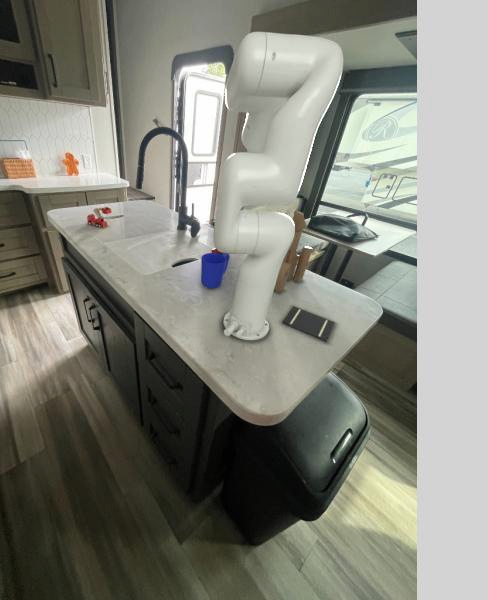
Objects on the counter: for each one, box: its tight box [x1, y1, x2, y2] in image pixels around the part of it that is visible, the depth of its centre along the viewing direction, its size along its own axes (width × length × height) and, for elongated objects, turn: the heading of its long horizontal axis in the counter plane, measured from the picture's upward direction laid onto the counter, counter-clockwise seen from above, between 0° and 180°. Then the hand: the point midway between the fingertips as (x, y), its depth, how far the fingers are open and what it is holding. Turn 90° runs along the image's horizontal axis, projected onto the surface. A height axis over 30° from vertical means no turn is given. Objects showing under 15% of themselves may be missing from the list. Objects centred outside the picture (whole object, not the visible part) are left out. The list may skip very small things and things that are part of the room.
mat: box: [282, 306, 335, 342], centre depth 78 cm, size 10×12×1 cm
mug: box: [200, 252, 230, 289], centre depth 90 cm, size 8×12×10 cm
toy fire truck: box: [86, 206, 112, 228], centre depth 128 cm, size 3×14×10 cm, turn 64°
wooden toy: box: [273, 210, 313, 293], centre depth 89 cm, size 15×7×25 cm, turn 129°
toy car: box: [210, 247, 231, 259], centre depth 106 cm, size 8×4×6 cm, turn 144°
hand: (227, 252), depth 104 cm, fingers closed
